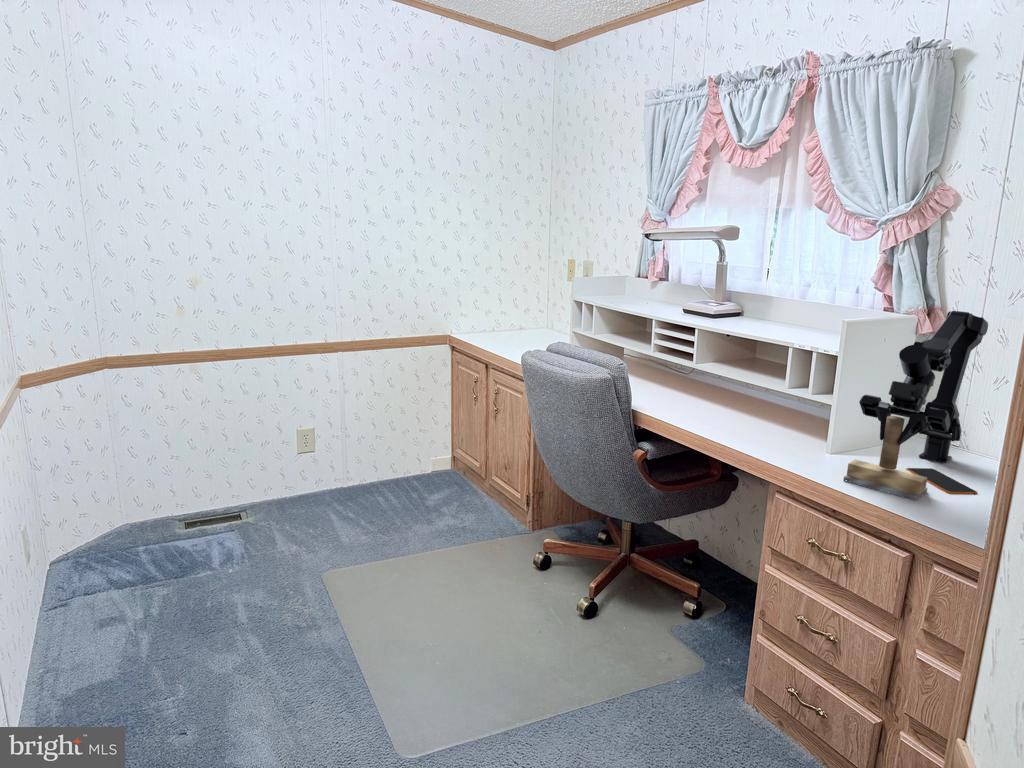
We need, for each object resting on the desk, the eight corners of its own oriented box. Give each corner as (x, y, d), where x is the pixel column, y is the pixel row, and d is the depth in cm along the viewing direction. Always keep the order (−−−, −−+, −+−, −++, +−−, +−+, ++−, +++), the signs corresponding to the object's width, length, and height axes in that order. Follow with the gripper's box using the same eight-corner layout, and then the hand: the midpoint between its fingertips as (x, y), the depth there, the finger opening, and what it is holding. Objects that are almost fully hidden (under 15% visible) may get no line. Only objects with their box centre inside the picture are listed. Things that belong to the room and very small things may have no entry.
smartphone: (932, 470, 176) (933, 467, 175) (978, 496, 159) (979, 492, 159) (904, 470, 175) (904, 467, 175) (947, 495, 159) (948, 492, 159)
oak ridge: (843, 480, 165) (845, 465, 164) (855, 473, 171) (857, 458, 170) (916, 500, 154) (919, 484, 153) (926, 491, 160) (929, 475, 159)
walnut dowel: (877, 463, 163) (884, 415, 161) (893, 464, 163) (901, 416, 160) (882, 468, 160) (890, 419, 157) (898, 470, 159) (906, 420, 157)
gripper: (868, 362, 165) (842, 413, 161) (955, 376, 152) (929, 432, 147) (876, 389, 172) (851, 438, 168) (960, 404, 159) (935, 459, 154)
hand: (889, 441), depth 159 cm, fingers closed on walnut dowel, 4 cm apart
